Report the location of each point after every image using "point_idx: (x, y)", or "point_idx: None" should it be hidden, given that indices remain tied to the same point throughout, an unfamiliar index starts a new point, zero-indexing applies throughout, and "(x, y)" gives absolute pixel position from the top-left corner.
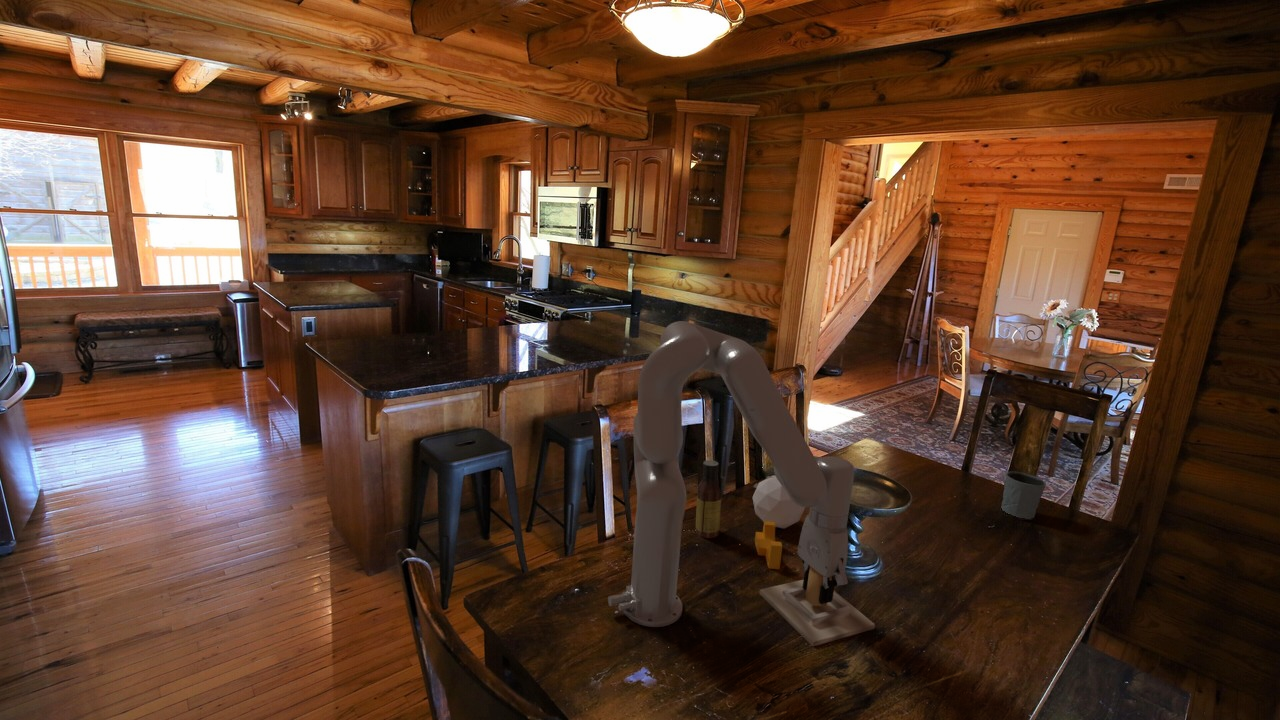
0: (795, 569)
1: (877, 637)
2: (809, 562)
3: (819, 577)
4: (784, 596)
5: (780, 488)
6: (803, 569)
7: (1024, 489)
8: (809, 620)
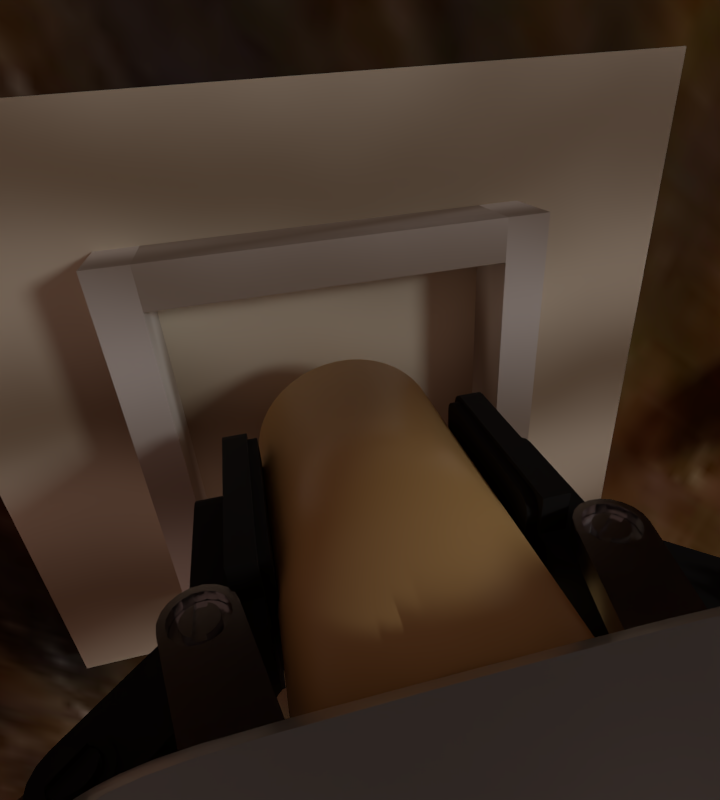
0: (705, 469)
1: (6, 628)
2: (593, 711)
3: (326, 629)
4: (501, 210)
5: None
6: (614, 503)
7: None
8: (132, 251)
